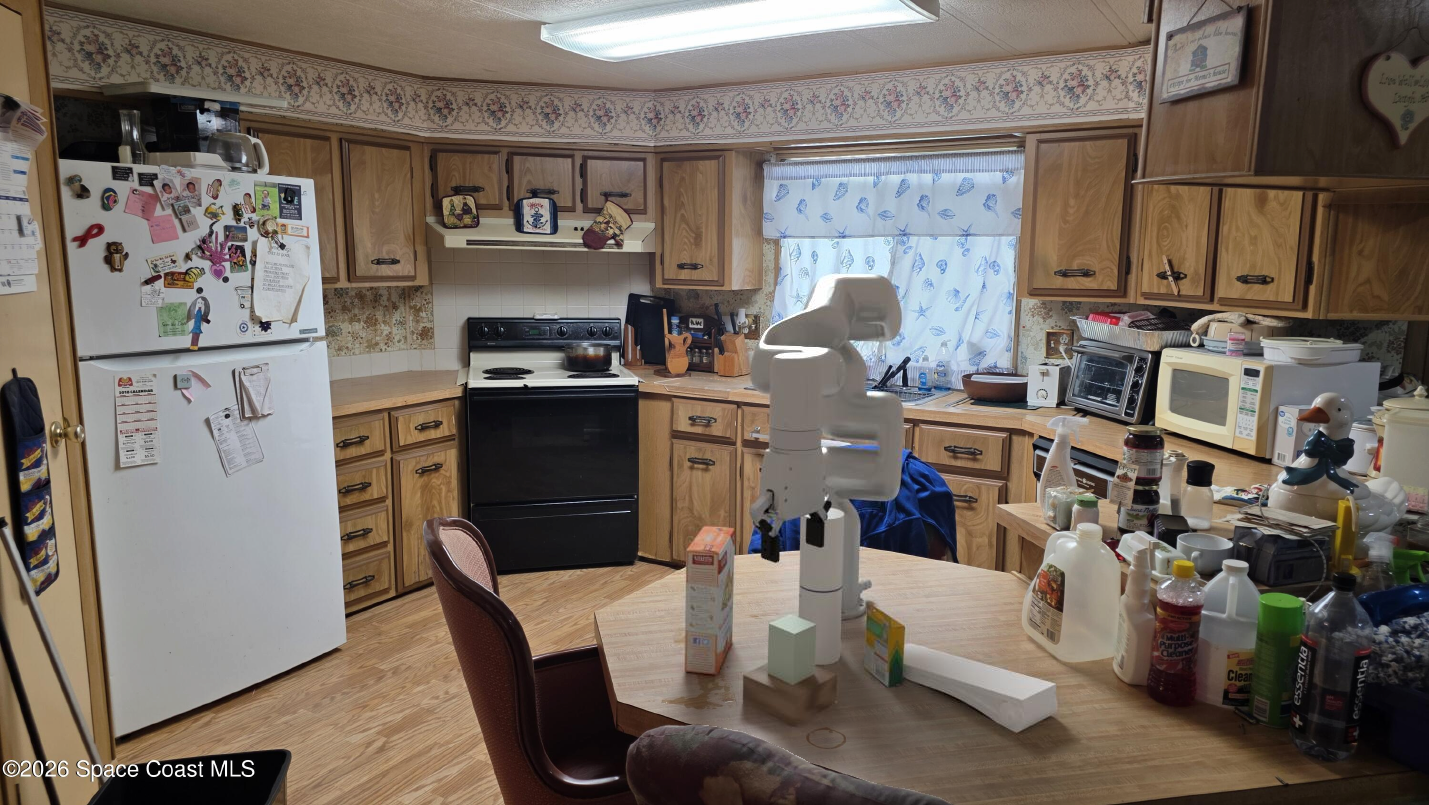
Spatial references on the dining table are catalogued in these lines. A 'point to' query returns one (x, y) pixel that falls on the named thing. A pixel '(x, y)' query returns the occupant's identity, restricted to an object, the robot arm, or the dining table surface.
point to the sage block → (791, 649)
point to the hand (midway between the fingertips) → (792, 552)
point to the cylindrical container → (823, 586)
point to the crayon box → (884, 647)
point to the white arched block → (983, 686)
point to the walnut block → (789, 695)
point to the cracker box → (709, 599)
